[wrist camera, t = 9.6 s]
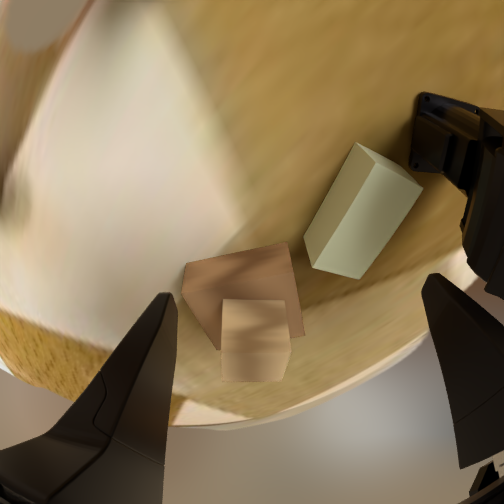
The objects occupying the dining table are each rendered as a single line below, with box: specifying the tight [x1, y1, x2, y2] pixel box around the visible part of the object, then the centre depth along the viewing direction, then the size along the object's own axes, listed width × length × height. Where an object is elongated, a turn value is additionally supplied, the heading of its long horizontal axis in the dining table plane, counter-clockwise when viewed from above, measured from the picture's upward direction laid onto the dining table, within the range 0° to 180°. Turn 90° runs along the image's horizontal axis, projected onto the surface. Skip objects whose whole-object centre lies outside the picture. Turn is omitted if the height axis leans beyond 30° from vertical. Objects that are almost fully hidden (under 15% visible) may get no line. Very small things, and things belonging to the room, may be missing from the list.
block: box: [303, 142, 424, 280], centre depth 21 cm, size 4×9×4 cm, turn 160°
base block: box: [181, 242, 305, 350], centre depth 27 cm, size 9×9×4 cm
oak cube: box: [221, 299, 292, 382], centre depth 23 cm, size 5×5×5 cm
